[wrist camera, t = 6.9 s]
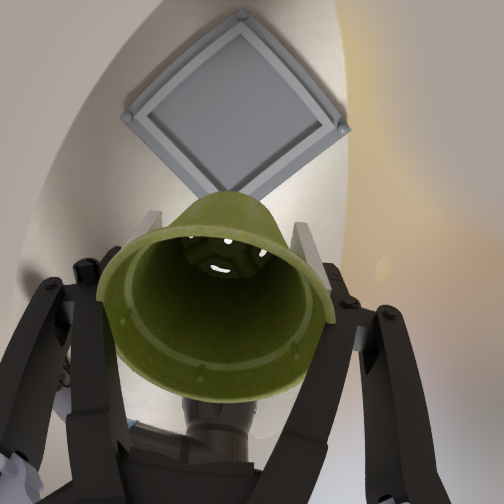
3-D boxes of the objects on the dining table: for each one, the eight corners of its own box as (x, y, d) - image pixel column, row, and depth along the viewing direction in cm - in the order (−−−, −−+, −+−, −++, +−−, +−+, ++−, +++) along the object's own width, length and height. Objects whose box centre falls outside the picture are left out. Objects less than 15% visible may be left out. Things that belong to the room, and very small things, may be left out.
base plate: (347, 129, 29) (354, 131, 27) (227, 222, 35) (226, 230, 33) (243, 11, 23) (243, 4, 21) (124, 116, 28) (116, 118, 26)
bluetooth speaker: (110, 417, 61) (101, 447, 52) (82, 410, 61) (72, 438, 52) (76, 365, 50) (60, 400, 41) (46, 358, 50) (29, 390, 41)
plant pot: (149, 279, 20) (107, 377, 12) (165, 146, 15) (88, 199, 8) (276, 306, 21) (286, 412, 13) (323, 185, 16) (380, 266, 9)
